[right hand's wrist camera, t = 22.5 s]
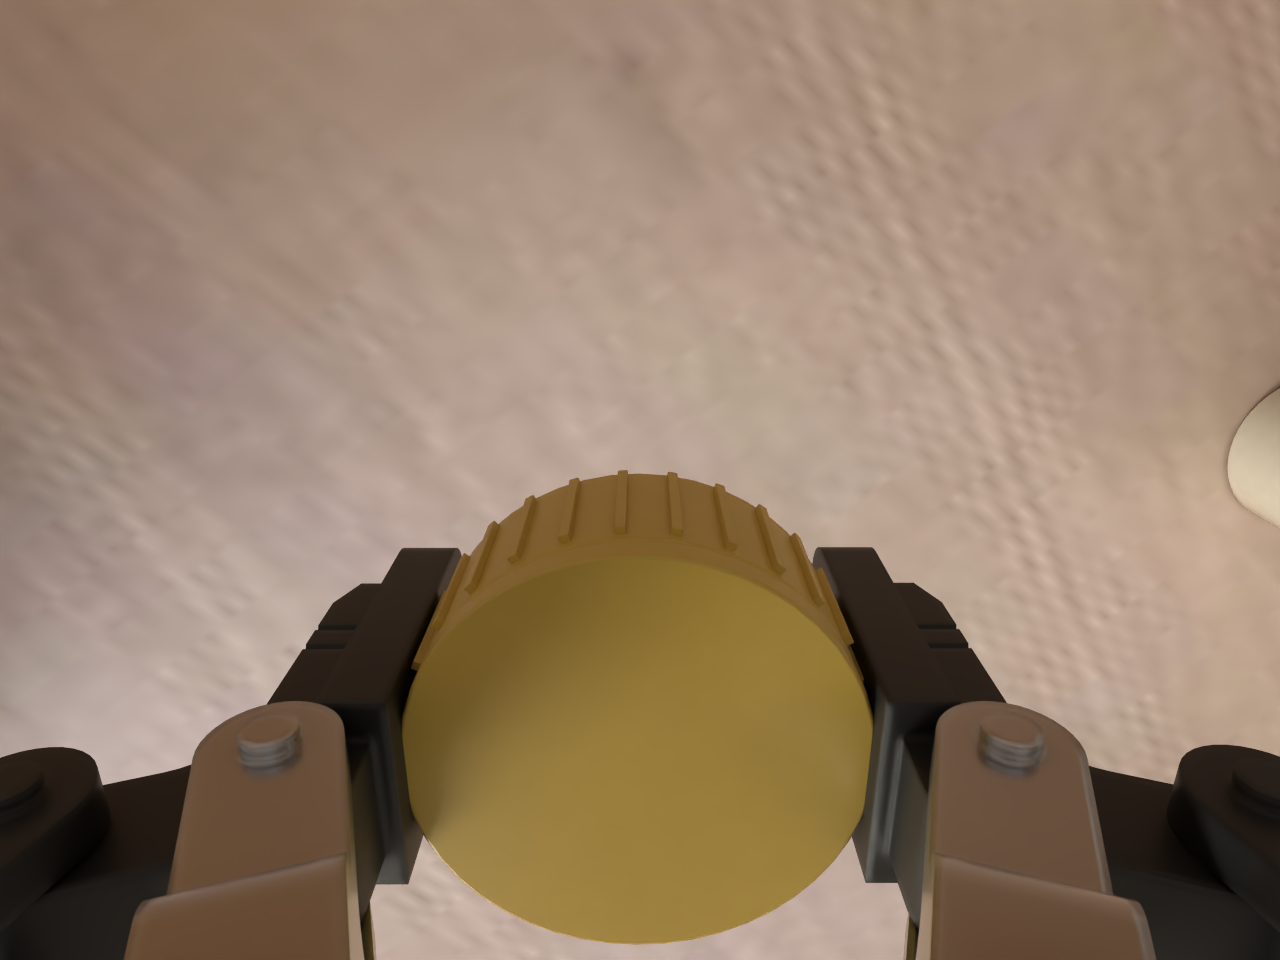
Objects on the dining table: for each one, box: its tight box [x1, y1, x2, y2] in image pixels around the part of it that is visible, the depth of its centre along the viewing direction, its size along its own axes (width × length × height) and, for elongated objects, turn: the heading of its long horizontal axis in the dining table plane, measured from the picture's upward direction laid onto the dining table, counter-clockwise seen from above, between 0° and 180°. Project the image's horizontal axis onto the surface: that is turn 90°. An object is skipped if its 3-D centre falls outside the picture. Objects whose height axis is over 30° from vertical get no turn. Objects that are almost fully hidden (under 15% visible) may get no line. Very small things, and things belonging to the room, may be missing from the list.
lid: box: [402, 470, 874, 944], centre depth 10 cm, size 5×5×2 cm
